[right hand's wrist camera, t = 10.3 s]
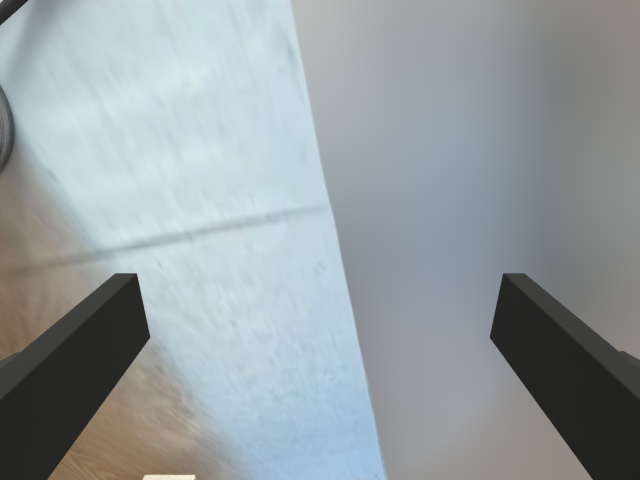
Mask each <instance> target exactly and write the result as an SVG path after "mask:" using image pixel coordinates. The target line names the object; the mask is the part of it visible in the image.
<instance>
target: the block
mask: <svg viewBox="0 0 640 480" xmlns="http://www.w3.org/2000/svg"><path fill="white" fill-rule="evenodd" d="M143 480H196V478H195V475H145V476H144V478H143Z"/></svg>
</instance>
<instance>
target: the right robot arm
mask: <svg viewBox="0 0 640 480" xmlns="http://www.w3.org/2000/svg"><path fill="white" fill-rule="evenodd" d="M27 1H28V0H3V1H2V2H1V3H0V25H1V24H2V23H4V22H5V21H6V20H7V19H8V18H9V17H10V16H11V15H12V14H14V13H15V12H16V11H17V10H18V9H19V8H20V7H21V6H23V5H24V4H25V3H26V2H27ZM13 141H14V126H13V119H12V113H11V110H10V106H9V104H8V101H7V98H6V96H5V94H4V92H3V89H2V88H1V86H0V171H1V170H2V168H3V167H4V166H5V164H6V163H7V161H8V159H9V157H10V154H11V151H12V147H13ZM149 339H150V334H149V329H148V324H147V320H146V315H145V310H144V305H143V301H142V296H141V291H140V286H139V282H138V277H137V273H115V274H114V275H113V276H112V277H111V278H109V279H108V280H107V281H106V282H105V283H103V284H102V285H101V286H100V287H99V288H97V289H96V290H95V291H94V292H92V293H91V294H90V295H89V296H88V297H86V298H85V299H84V300H83V301H82V302H80V303H79V304H78V305H77V306H76V307H74V308H73V309H72V310H71V311H70V312H68V313H67V314H66V315H65V316H64V317H62V318H61V319H60V320H59V321H58V322H56V323H55V324H54V325H53V326H51V327H50V328H49V329H48V330H47V331H45V332H44V333H43V334H42V335H41V336H39V337H38V338H37V339H36V340H35V341H33V342H32V343H31V344H30V345H29V346H27V347H26V348H25V349H24V350H23V351H21V352H20V353H15V354H13V355H11V356H10V357H8V358H6V359H4V360H2V361H0V480H47V479H48V478H49V476H50V475H51V473H52V472H53V471H54V469H55V468H56V467H57V465H58V464H59V462H60V461H61V460H62V458H63V457H64V456H65V454H66V453H67V451H68V450H69V449H70V447H71V446H72V445H73V443H74V442H75V440H76V439H77V438H78V436H79V435H80V434H81V432H82V431H83V429H84V428H85V427H86V425H87V424H88V423H89V421H90V420H91V418H92V417H93V416H94V414H95V413H96V412H97V410H98V409H99V407H100V406H101V405H102V403H103V402H104V401H105V399H106V398H107V396H108V395H109V394H110V392H111V391H112V389H113V388H114V387H115V385H116V384H117V383H118V381H119V380H120V378H121V377H122V376H123V374H124V373H125V372H126V370H127V369H128V367H129V366H130V365H131V363H132V362H133V361H134V359H135V358H136V356H137V355H138V354H139V352H140V351H141V350H142V348H143V347H144V345H145V344H146V343H147V341H148V340H149ZM490 339H491V340H492V341H493V343H494V344H495V345H496V347H497V348H498V350H499V351H500V352H501V354H502V355H503V356H504V358H505V359H506V361H507V362H508V363H509V365H510V366H511V367H512V369H513V370H514V372H515V373H516V374H517V376H518V377H519V378H520V380H521V381H522V383H523V384H524V385H525V387H526V388H527V389H528V391H529V392H530V394H531V395H532V396H533V398H534V399H535V400H536V402H537V403H538V405H539V406H540V407H541V409H542V410H543V411H544V413H545V414H546V416H547V417H548V418H549V420H550V421H551V422H552V424H553V425H554V427H555V428H556V429H557V431H558V432H559V434H560V435H561V436H562V438H563V439H564V440H565V442H566V443H567V445H568V446H569V447H570V449H571V450H572V451H573V453H574V454H575V456H576V457H577V458H578V460H579V461H580V462H581V464H582V465H583V467H584V468H585V469H586V471H587V472H588V473H589V475H590V476H591V478H592V479H593V480H640V360H639V359H637V358H635V357H633V356H631V355H630V354H628V353H626V352H624V351H617V350H616V349H615V348H614V347H613V346H611V345H610V344H609V343H608V342H607V341H605V340H604V339H603V338H602V337H601V336H599V335H598V334H597V333H596V332H594V331H593V330H592V329H591V328H590V327H589V326H587V325H586V324H585V323H584V322H582V321H581V320H580V319H579V318H578V317H576V316H575V315H574V314H573V313H572V312H570V311H569V310H568V309H567V308H566V307H564V306H563V305H562V304H561V303H560V302H558V301H557V300H556V299H555V298H553V297H552V296H551V295H550V294H549V293H548V292H546V291H545V290H544V289H543V288H541V287H540V286H539V285H538V284H537V283H535V282H534V281H533V280H532V279H531V278H529V277H528V276H527V275H526V274H524V273H504V274H503V277H502V282H501V286H500V291H499V296H498V301H497V305H496V310H495V315H494V320H493V324H492V329H491V334H490Z"/></svg>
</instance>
